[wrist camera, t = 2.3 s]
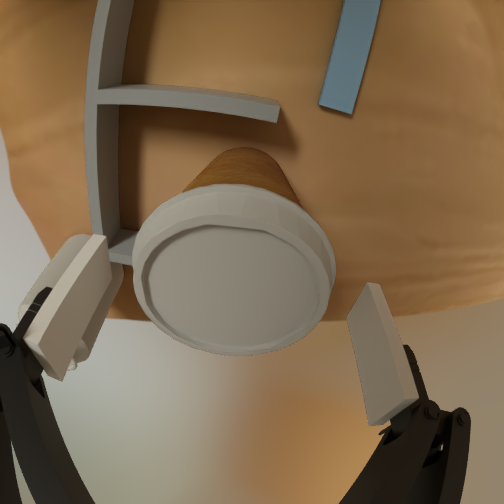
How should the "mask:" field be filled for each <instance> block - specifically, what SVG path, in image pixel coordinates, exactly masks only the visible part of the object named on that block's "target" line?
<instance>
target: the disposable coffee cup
mask: <svg viewBox="0 0 504 504" xmlns="http://www.w3.org/2000/svg"><path fill="white" fill-rule="evenodd" d="M132 265H133V270H134V274H133V284H134V291H135V294H136V297H137V300H138V302H139V304H140V305H141V307H142V309H143V311H144V313H145V314H146V315H147V316H148V317H149V318H150V319H151V321H152V322H153V323H154V324H155V325H156V326H157V327H158V328H160V329H161V330H162V331H164V332H165V333H167V334H168V335H169V336H170V337H172V338H173V339H175V340H177V341H179V342H182V343H184V344H186V345H188V346H190V347H193V348H195V349H198V350H202V351H206V352H210V353H214V354H219V355H229V356H252V355H257V354H263V353H267V352H273V351H277V350H279V349H282V348H285V347H287V346H289V345H291V344H293V343H295V342H297V341H299V340H300V339H302V338H303V337H305V336H306V335H307V334H308V333H310V332H311V331H312V330H313V329H314V328H315V327H316V325H317V324H318V323H319V322H320V320H321V319H322V317H323V315H324V313H325V312H326V310H327V307H328V302H329V297H330V295H331V292H332V289H333V286H334V282H335V275H336V262H335V258H334V254H333V249H332V246H331V244H330V242H329V239H328V238H327V236H326V234H325V233H324V231H323V230H322V228H321V227H320V225H319V224H318V222H317V221H316V220H315V219H313V218H312V217H311V216H310V215H309V214H308V213H307V212H305V211H304V210H303V208H302V206H301V204H300V202H299V200H298V199H297V197H296V195H295V193H294V191H293V189H292V188H291V186H290V184H289V182H288V181H287V179H286V177H285V175H284V174H283V172H282V170H281V168H280V166H279V165H278V163H277V162H276V161H275V160H274V159H273V158H272V157H270V156H269V155H268V154H266V153H264V152H262V151H260V150H257V149H253V148H245V147H241V148H235V149H230V150H227V151H225V152H223V153H222V154H220V155H218V156H217V157H216V158H215V159H214V160H213V161H212V162H211V163H210V164H209V165H208V166H207V167H206V168H205V169H204V170H203V171H202V172H201V173H200V174H199V175H198V176H197V177H196V178H195V179H194V180H193V181H192V182H191V183H190V184H189V185H188V186H187V187H186V188H185V189H184V190H183V192H182V193H180V194H178V195H176V196H175V197H173V198H171V199H169V200H168V201H166V202H164V203H163V204H161V205H160V206H159V207H158V208H157V209H156V210H155V211H154V212H153V213H152V214H151V215H150V216H149V217H148V218H147V219H146V221H145V222H144V223H143V225H142V227H141V228H140V230H139V232H138V234H137V236H136V240H135V244H134V248H133V252H132Z"/></svg>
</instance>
